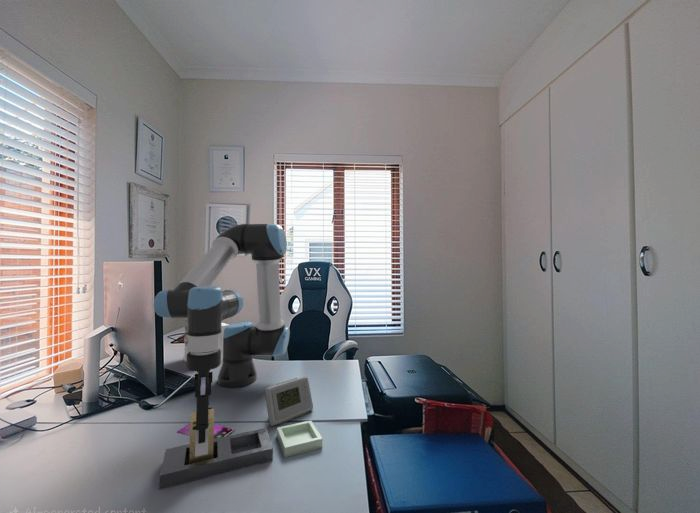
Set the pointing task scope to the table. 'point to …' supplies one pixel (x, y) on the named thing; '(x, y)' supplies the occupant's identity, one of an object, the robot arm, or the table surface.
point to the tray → (299, 438)
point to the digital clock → (288, 400)
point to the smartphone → (218, 431)
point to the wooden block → (210, 438)
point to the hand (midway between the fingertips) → (201, 447)
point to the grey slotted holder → (181, 473)
